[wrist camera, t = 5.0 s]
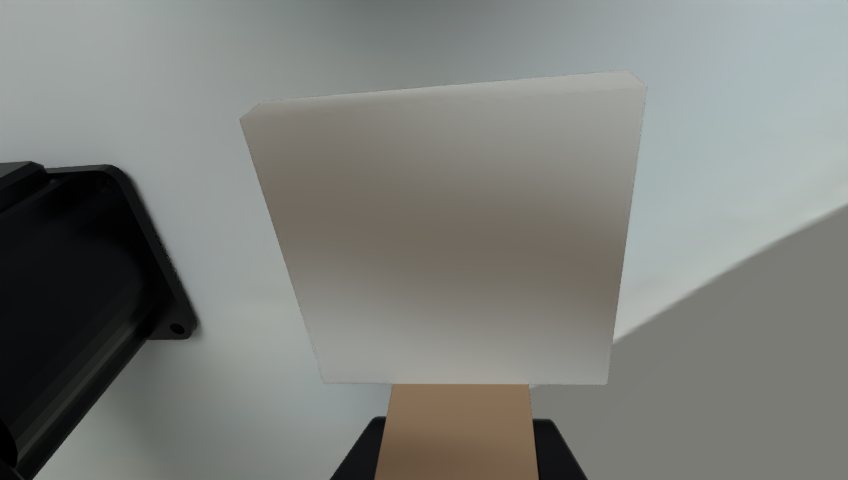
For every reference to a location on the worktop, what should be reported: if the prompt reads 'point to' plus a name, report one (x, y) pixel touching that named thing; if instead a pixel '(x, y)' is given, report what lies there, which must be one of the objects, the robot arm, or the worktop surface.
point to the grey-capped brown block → (456, 250)
